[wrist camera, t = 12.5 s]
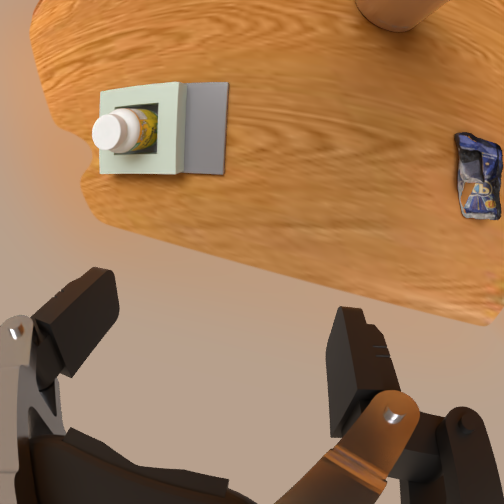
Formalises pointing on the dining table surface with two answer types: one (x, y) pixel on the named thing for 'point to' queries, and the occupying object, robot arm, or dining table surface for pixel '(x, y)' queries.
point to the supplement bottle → (126, 130)
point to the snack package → (480, 176)
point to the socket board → (204, 127)
